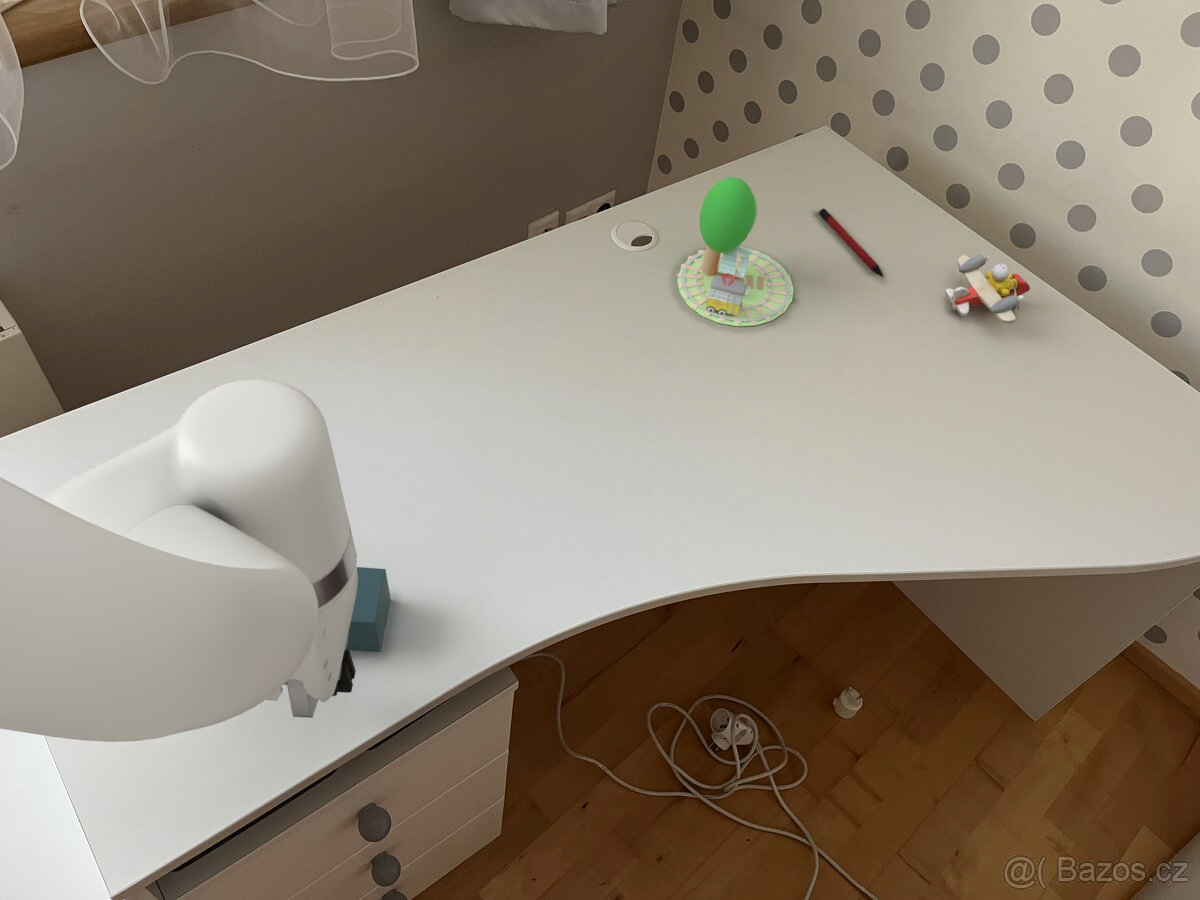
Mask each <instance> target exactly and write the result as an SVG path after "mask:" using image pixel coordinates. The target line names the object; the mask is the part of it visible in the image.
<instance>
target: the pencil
mask: <svg viewBox="0 0 1200 900" xmlns="http://www.w3.org/2000/svg"><path fill="white" fill-rule="evenodd" d="M818 214H819V216H821V218H822V219H823V220H824V221H825V222H826V223H827V224H828V225H829V226H830V228H832V230H834V231H835V233H836V234H837V235H838V236H839V237H840V238H841V239H842V240H843V241H844V242H845V243H846V244H847V245H848V246H849V248H850V249H851V250H852V251H853V252H854V253H855V254H856V255H857V256H858V257H859V258H860V259H861V260H862V261H863V263H865V264H866V266H867V267H868V268H869V269H870V270H871V271H872V272H874V273H875V274H877V275H878V276H881V277H882V278H884V274H883V271H882V270H881V268H880V266H879V264H878V263H877V262H876V261H875V260H874V259H873V258H872V256H870V255H869V254H868V253H867V252H866V251H865V249H864V248H863V247H862V246H861V245H860V244H859V243H858V242H857V241H856V240H855V239H854V238H853V236H851V235H850V233H849V232H848V231H846V230H845V228H844V227H843V226H842V225H841V224H840V223H839V222H838V220H836V219H835V218H834V217H833V216H832V215H831V214H830V212H829V211H828V210H827V209H826V208H822V209H820V210H819V212H818Z"/></svg>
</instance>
